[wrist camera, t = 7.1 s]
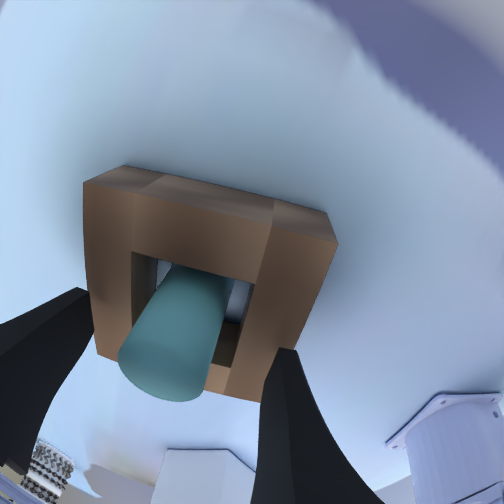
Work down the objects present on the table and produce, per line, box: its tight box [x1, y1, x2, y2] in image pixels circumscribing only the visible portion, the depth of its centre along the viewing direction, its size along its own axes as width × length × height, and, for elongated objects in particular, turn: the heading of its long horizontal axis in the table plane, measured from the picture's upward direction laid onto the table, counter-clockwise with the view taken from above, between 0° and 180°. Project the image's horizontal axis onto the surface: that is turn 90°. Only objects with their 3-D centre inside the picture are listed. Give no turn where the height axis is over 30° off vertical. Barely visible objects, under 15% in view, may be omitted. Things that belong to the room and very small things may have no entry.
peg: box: [117, 263, 233, 402], centre depth 11 cm, size 3×3×6 cm
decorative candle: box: [9, 441, 75, 504], centre depth 25 cm, size 9×9×25 cm
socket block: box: [83, 165, 338, 403], centre depth 13 cm, size 9×9×3 cm
